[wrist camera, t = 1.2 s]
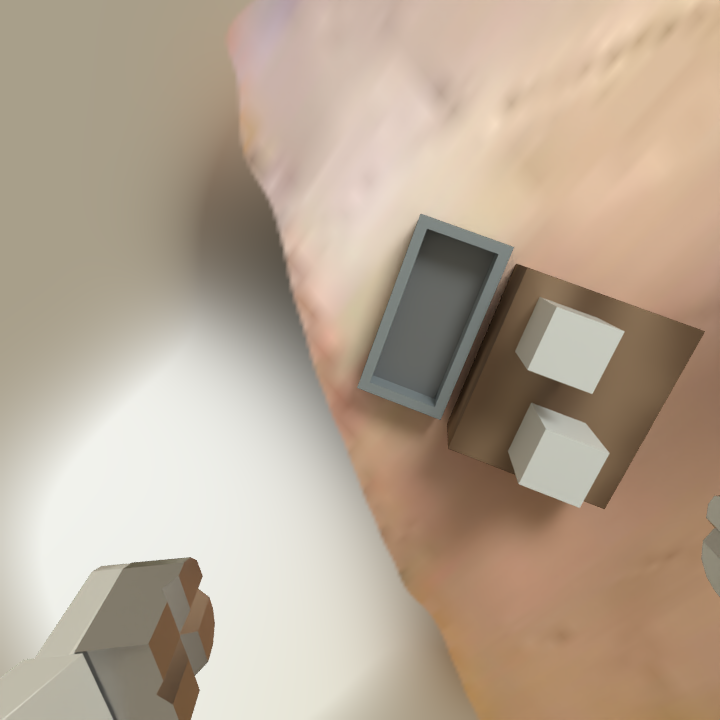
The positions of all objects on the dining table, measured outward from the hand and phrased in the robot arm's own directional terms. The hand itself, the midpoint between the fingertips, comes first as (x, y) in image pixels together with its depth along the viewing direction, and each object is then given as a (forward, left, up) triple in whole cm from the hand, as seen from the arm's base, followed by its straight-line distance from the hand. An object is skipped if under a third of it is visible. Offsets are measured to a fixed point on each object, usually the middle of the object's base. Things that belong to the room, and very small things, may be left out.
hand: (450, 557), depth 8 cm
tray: (0, +1, -32) cm, 32 cm away
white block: (-8, -1, -27) cm, 28 cm away
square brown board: (-10, +2, -32) cm, 34 cm away
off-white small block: (-10, +6, -27) cm, 30 cm away
